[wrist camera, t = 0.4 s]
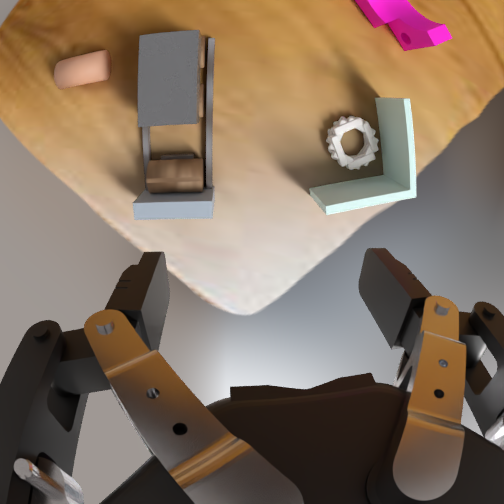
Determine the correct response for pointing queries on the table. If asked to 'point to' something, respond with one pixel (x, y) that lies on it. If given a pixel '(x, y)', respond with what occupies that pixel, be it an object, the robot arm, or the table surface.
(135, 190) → the table surface
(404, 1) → the magenta curved bracket
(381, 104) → the l-shaped corner panel
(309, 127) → the table surface
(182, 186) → the roller bed
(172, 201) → the stop gate
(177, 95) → the slab
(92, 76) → the roller
